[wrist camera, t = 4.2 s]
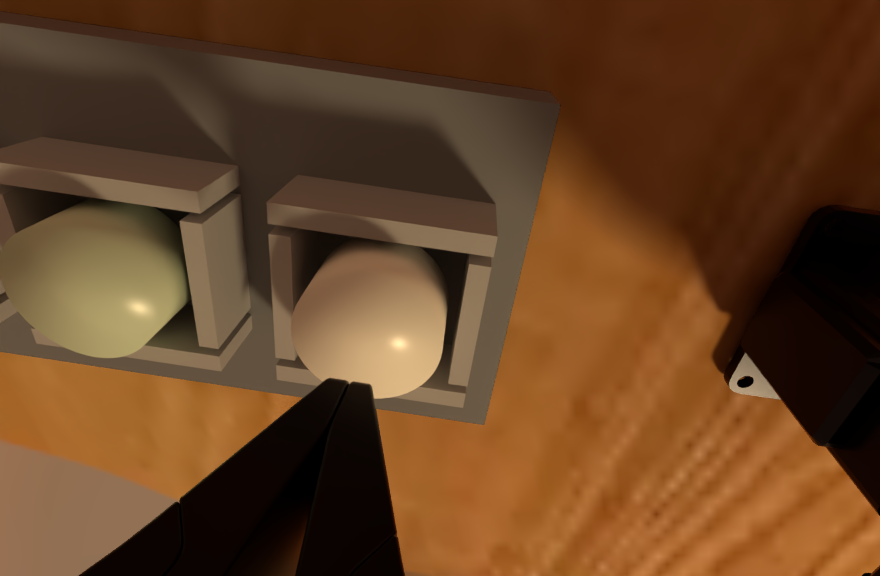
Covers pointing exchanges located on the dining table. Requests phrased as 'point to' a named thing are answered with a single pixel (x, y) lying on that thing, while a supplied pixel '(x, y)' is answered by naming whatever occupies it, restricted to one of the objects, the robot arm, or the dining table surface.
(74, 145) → the rack
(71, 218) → the sage button
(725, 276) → the dining table surface
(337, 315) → the cream button
